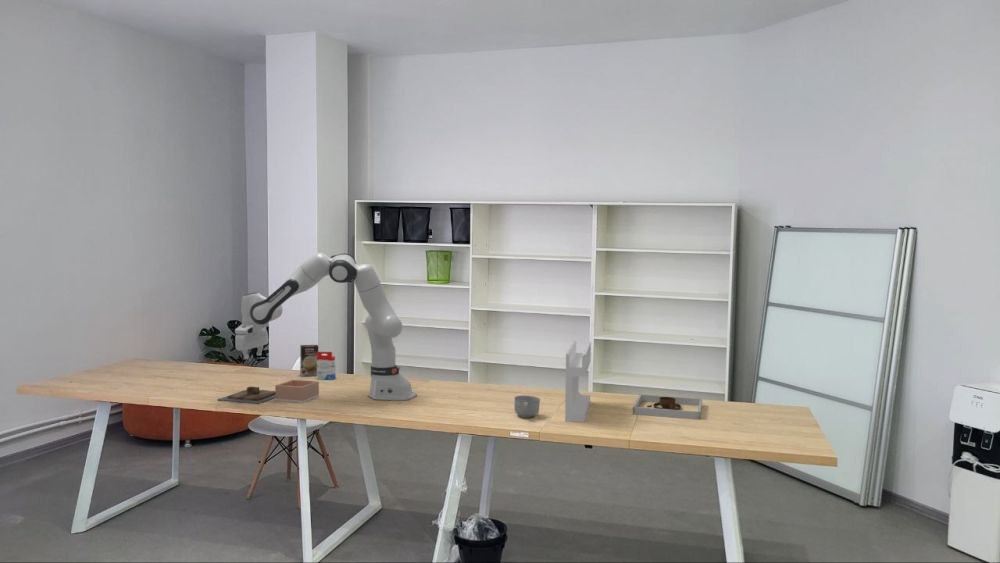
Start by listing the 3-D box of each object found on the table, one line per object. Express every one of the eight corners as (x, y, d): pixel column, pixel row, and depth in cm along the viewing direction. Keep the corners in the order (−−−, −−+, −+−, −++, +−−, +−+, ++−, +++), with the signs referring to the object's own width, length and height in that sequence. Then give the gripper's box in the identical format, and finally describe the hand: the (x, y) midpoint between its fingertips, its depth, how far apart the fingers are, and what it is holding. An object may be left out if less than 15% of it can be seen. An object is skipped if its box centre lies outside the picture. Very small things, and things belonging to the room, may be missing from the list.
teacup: (518, 412, 321) (518, 393, 320) (542, 414, 318) (542, 395, 317) (509, 420, 307) (509, 401, 307) (534, 422, 304) (534, 403, 304)
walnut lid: (278, 393, 351) (278, 385, 351) (257, 400, 336) (257, 392, 335) (249, 391, 356) (248, 382, 355) (227, 398, 340) (227, 389, 340)
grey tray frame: (702, 405, 335) (702, 398, 335) (700, 419, 310) (700, 412, 310) (639, 400, 343) (639, 394, 343) (632, 414, 318) (632, 407, 318)
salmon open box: (318, 396, 348) (318, 381, 348) (302, 402, 335) (302, 387, 334) (292, 394, 352) (292, 379, 352) (275, 400, 339) (275, 385, 338)
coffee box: (300, 377, 391) (300, 346, 390) (300, 374, 397) (299, 345, 396) (318, 376, 394) (318, 346, 393) (317, 373, 400) (317, 344, 399)
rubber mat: (287, 393, 353) (287, 392, 353) (259, 404, 332) (259, 402, 332) (247, 390, 359) (247, 389, 359) (217, 400, 338) (217, 399, 338)
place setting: (691, 409, 330) (691, 396, 330) (676, 418, 313) (676, 405, 313) (653, 403, 340) (653, 391, 339) (636, 413, 323) (637, 399, 322)
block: (572, 401, 340) (573, 341, 338) (589, 402, 339) (590, 341, 337) (565, 421, 306) (565, 354, 304) (584, 422, 304) (585, 354, 302)
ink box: (335, 378, 389) (335, 350, 388) (332, 380, 384) (332, 352, 383) (319, 377, 390) (319, 350, 389) (316, 379, 385) (316, 351, 384)
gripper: (259, 324, 354) (260, 353, 355) (232, 330, 335) (233, 360, 336) (271, 324, 352) (272, 353, 354) (244, 331, 333) (245, 361, 334)
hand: (253, 357), depth 345 cm, fingers open, 8 cm apart
